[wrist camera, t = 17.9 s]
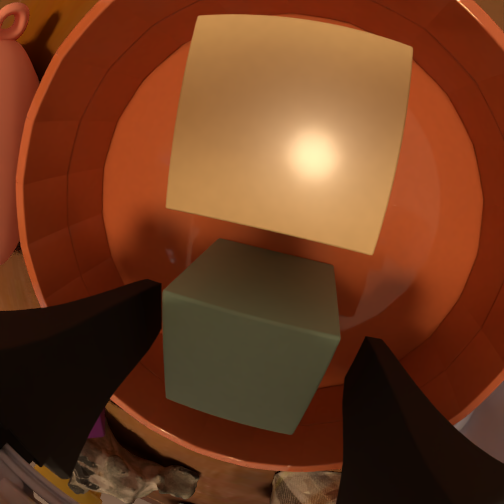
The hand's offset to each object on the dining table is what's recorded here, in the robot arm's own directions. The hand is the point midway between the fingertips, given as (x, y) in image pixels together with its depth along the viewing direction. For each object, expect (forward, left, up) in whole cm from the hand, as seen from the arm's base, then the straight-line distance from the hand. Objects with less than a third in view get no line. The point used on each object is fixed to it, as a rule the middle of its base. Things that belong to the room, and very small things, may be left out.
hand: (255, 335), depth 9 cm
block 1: (+7, 0, -2) cm, 7 cm away
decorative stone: (-21, +10, -3) cm, 23 cm away
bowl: (+3, 0, -3) cm, 4 cm away
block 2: (0, 0, -2) cm, 2 cm away
